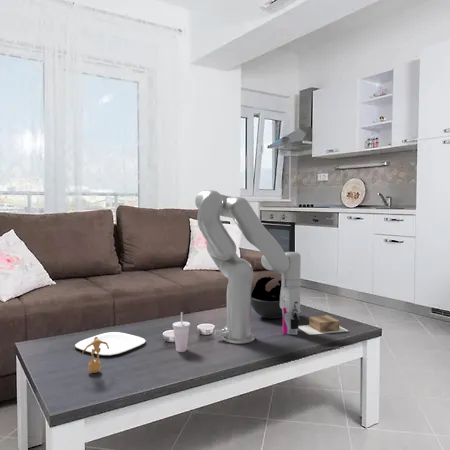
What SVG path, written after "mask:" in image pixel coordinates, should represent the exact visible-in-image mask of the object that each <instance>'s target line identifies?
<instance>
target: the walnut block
mask: <svg viewBox="0 0 450 450" xmlns="http://www.w3.org/2000/svg"><path fill="white" fill-rule="evenodd" d="M340 322H341V321H340V320H338V319H336V318H334V317H332V316H330V315H328V314H326V315H316V316H309V317H308V325H309V326H310V327H311V328H313V329H315V330H317V331H318V332H330V331H339V326H340Z"/></svg>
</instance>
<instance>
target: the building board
mask: <svg viewBox="0 0 450 450" xmlns="http://www.w3.org/2000/svg"><path fill="white" fill-rule="evenodd" d="M298 329H300V330H301V331H303V333H305V334H307V335H309V336H310V335H311V336H312V335H321V334H331V333H333V334H334V333H342V332H349V330H348V329H346V328H344V327H342V326H341V325H339V331H330V332H318V331H317V330H315V329H313V328H311V327H310V326H309V324H306V325H304V324H303V325H299V326H298Z"/></svg>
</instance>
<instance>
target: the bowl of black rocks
mask: <svg viewBox="0 0 450 450" xmlns="http://www.w3.org/2000/svg"><path fill="white" fill-rule="evenodd" d="M274 279H275V277H271V276H264V277H261V278H258V279H257V281H256V282H255V286H254V287H253V289H252V291H251V308H252V309H253V310H254V311H255V313H257V315H259V316H260V317H262V318H264V319H268V320H277V319H280V318H282V309H281V308H280V291H281V279H280V280H278V281H277V282H278V283H279V285H278V284H276V285H275V286H274V287H272V288H271V289H270V290H269V291H268V290H266V285H267V284H268V283H270V282H271V281H272V280H274Z"/></svg>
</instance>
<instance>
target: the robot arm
mask: <svg viewBox="0 0 450 450" xmlns="http://www.w3.org/2000/svg"><path fill="white" fill-rule="evenodd" d="M194 203H195V206H196V208H197V209H198V211H197V217H196V220H197V221H196V222H197V226H198V228H199V231H200V232H201V234H202V236H203V237H204V239H205V241H206V250H207V253H208V255H209V256H210V257H211V258H210V259H212V261H213V262H214V264H215V266H216V267H217V268H218V269H219V271H220V273H221V274H222V275H223V276H224V277H225V278H227V279H228V282H227V286H226V287H227V288H226V325H224V327H223V328H222V329H215V330H213V332H214V336H219V337H222V340H223V341H224V342H227V343H230V344H239V345H241V344H243V345H244V344H248V343H252V342H253V341H255V334H253V333H252V331H251V330H252V305H251V294H252V288H253V287H252V285H253V281H254V269H253V266H252V264H251V263H250V262H249V261H248V260H246V259H244V258H242V257H239V255H238V254H237V244H236V243H235V241H234V240H233V238H232V237H231V235H230V233H229V232H228V230H227V229H226V227H225V225H224V223H223V222H222V220H221V217H224V218H230V219H232V220H233V221H234V224H236V226H237V228H238V229H239V230H240V232H241V234H242V236H244V239H246V241H247V242H248V243H249V244H250V245H253V247H255V248H256V249H257V250H258V251H259V252H260V253H261V254H262V256H261V259H260V263H261V265H262V267H263V268H264V269H265V270H267V271H270V272H273V273H275V274H279V275H281V279H280V280H281V291H280V308H281V309H282V317H281V323H282V324H283V307H285V308H286V312H288V313H290V312H291V317H292V319H291V329H297V330H298V329H299V328H298V326H300V325H299V323H300V322H299V320H300V316H301V313H302V310H301V292H300V291H301V290H300V287H301V261H302V260H301V258H302V257H301V254H300V252H297V251H284V249H283V247H282V246H281V245H280V243H279V242H278V241H277V239H276V238H274V237H273V235H272V234H271V233H270V232H269V230H268V229H267V228H266V227H265V225H263V223H262V221H261V219H260V218H259V217H258V215H257V213H256V212H255V210H254V208H253V207H252V205H251V204H250V202H249V201H248V200H247V199H246V198H244V197H242V196H230V195H225V194H221V193H220V192H218V191H217V190H211V189H209V190H202V191H200V192H198V193H197V195H196V196H195V202H194ZM295 309H296V311H293V310H295ZM293 313H296V314H295V315H293Z"/></svg>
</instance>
